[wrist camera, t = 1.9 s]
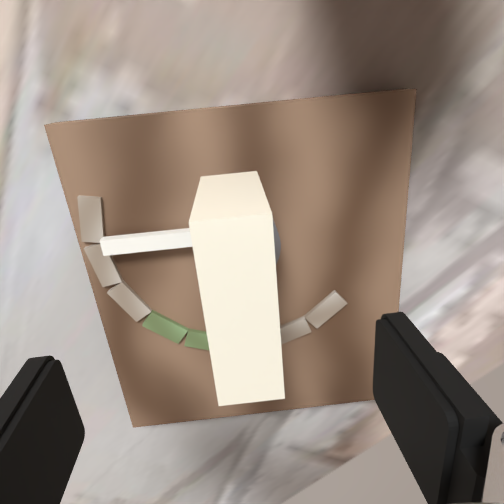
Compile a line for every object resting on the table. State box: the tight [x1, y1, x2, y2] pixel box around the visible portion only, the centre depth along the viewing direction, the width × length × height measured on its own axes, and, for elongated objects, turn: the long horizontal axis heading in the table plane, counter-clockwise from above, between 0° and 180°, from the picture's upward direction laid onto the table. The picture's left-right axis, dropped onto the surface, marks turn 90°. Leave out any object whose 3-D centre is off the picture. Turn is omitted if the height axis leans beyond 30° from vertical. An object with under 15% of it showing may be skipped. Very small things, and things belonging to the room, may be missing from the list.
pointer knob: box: [100, 171, 285, 406], centre depth 17 cm, size 10×8×9 cm
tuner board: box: [44, 89, 416, 427], centre depth 24 cm, size 19×21×2 cm
